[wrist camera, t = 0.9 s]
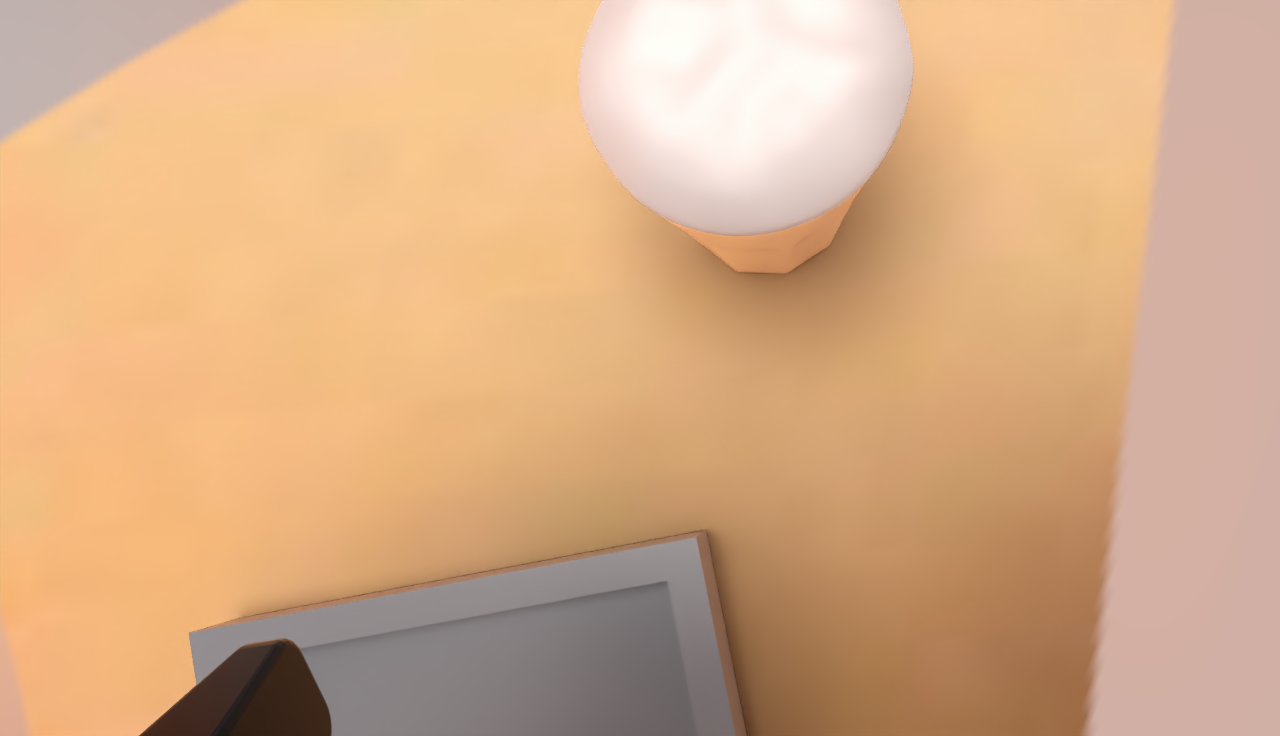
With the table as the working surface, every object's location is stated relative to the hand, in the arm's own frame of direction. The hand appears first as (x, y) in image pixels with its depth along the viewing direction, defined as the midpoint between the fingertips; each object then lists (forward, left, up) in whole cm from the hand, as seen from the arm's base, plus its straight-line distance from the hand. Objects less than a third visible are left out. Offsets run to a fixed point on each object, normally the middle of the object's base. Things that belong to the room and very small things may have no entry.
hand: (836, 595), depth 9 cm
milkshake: (+7, 0, -14) cm, 16 cm away
